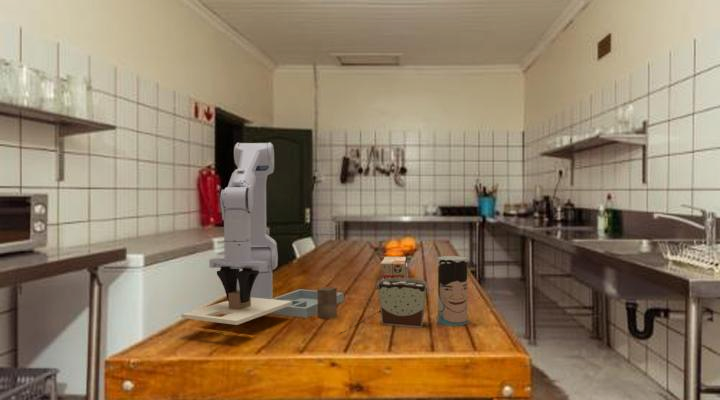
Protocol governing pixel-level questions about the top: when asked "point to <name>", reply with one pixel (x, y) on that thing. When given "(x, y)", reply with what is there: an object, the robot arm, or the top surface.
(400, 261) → the stack of blocks
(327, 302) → the walnut key
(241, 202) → the robot arm
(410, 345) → the top surface
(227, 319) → the lid
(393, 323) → the food container
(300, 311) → the shallow tray
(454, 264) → the cup
